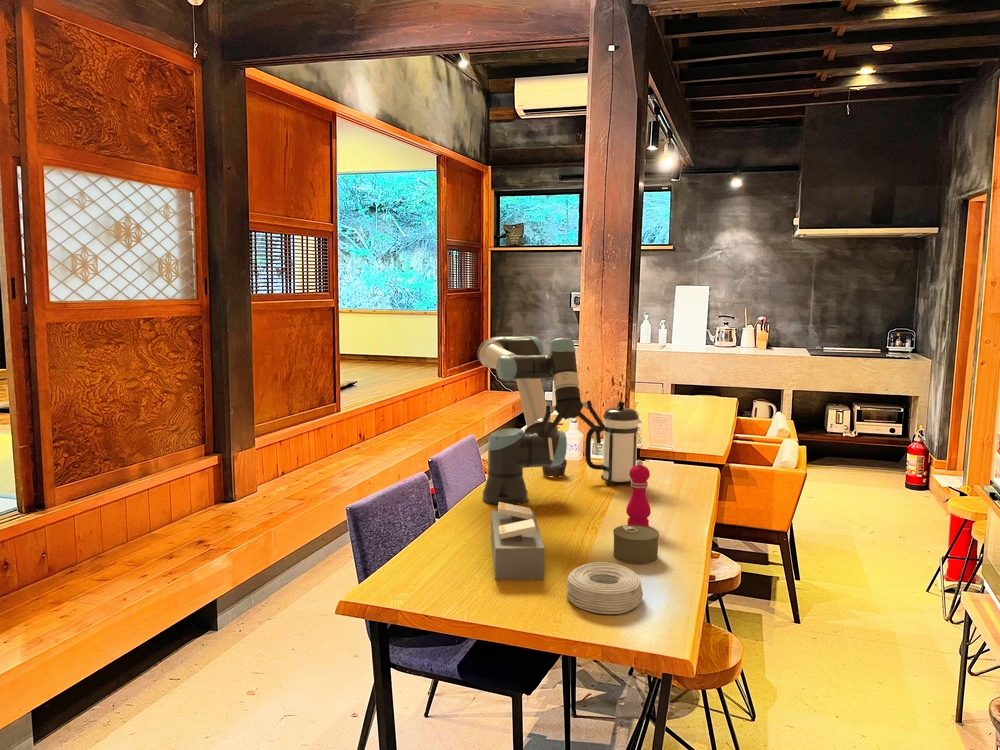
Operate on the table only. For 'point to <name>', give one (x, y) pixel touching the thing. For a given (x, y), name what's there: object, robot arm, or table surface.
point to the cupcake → (555, 470)
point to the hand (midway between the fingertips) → (574, 457)
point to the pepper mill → (638, 496)
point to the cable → (604, 588)
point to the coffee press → (617, 444)
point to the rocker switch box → (516, 551)
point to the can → (635, 544)
